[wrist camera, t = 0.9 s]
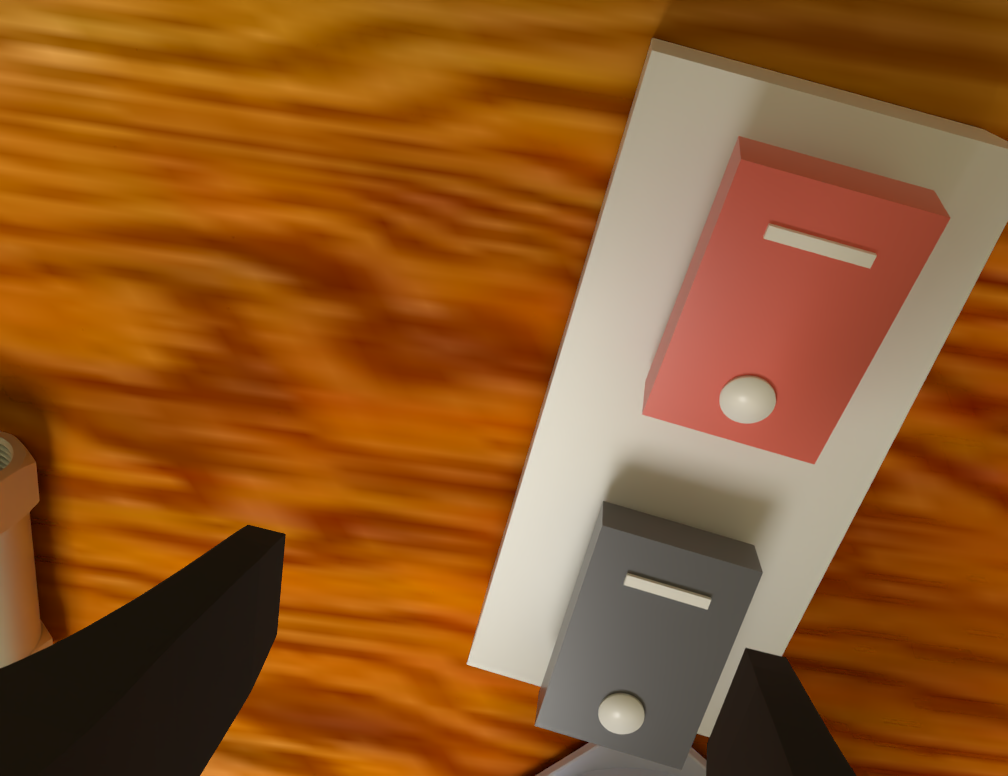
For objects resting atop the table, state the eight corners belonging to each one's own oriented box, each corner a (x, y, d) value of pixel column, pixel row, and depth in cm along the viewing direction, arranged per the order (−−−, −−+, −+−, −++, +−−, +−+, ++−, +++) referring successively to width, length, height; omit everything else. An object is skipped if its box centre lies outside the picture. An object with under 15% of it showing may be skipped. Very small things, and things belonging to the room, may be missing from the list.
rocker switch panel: (652, 37, 18) (651, 50, 16) (983, 128, 18) (1040, 157, 16) (486, 589, 25) (466, 664, 22) (726, 661, 25) (735, 745, 22)
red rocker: (738, 135, 15) (740, 161, 14) (934, 190, 15) (952, 220, 14) (645, 381, 18) (642, 417, 17) (808, 427, 18) (814, 467, 17)
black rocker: (602, 500, 19) (602, 527, 18) (754, 545, 19) (764, 575, 18) (538, 692, 21) (534, 729, 20) (677, 734, 21) (681, 773, 20)
